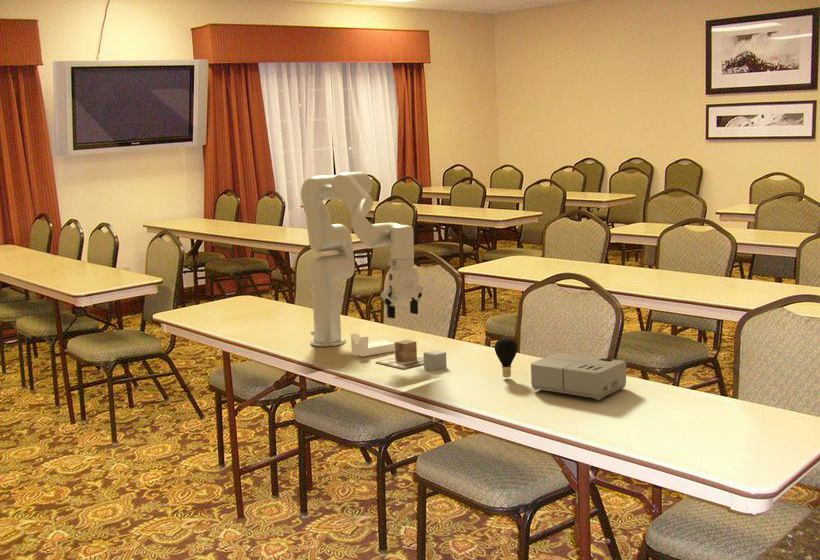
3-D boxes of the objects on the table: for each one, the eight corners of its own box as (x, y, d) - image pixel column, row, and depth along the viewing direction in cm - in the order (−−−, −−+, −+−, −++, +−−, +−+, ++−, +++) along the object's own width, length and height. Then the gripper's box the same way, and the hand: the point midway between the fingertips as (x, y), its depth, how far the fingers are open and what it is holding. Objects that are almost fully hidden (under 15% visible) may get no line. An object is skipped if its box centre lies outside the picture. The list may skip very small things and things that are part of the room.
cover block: (423, 352, 272) (434, 355, 268) (435, 350, 275) (446, 352, 271) (424, 368, 273) (434, 370, 269) (435, 365, 276) (446, 368, 272)
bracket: (362, 359, 289) (361, 337, 288) (351, 355, 295) (350, 334, 294) (395, 353, 296) (394, 331, 295) (384, 350, 302) (383, 328, 301)
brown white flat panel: (375, 362, 282) (375, 361, 282) (412, 354, 292) (412, 353, 292) (403, 369, 272) (403, 368, 272) (440, 360, 282) (440, 359, 282)
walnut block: (395, 360, 283) (394, 342, 282) (407, 357, 286) (406, 339, 285) (405, 362, 279) (404, 344, 278) (417, 359, 282) (416, 341, 282)
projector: (600, 401, 230) (599, 372, 228) (529, 389, 244) (528, 362, 243) (628, 387, 242) (628, 360, 241) (559, 377, 256) (559, 351, 255)
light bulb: (522, 377, 257) (522, 337, 255) (506, 381, 252) (505, 341, 251) (506, 373, 262) (505, 334, 260) (490, 377, 258) (489, 337, 256)
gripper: (388, 267, 270) (389, 321, 273) (429, 262, 281) (430, 313, 284) (373, 265, 276) (374, 317, 279) (414, 259, 287) (415, 310, 290)
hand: (402, 315), depth 281 cm, fingers open, 9 cm apart
